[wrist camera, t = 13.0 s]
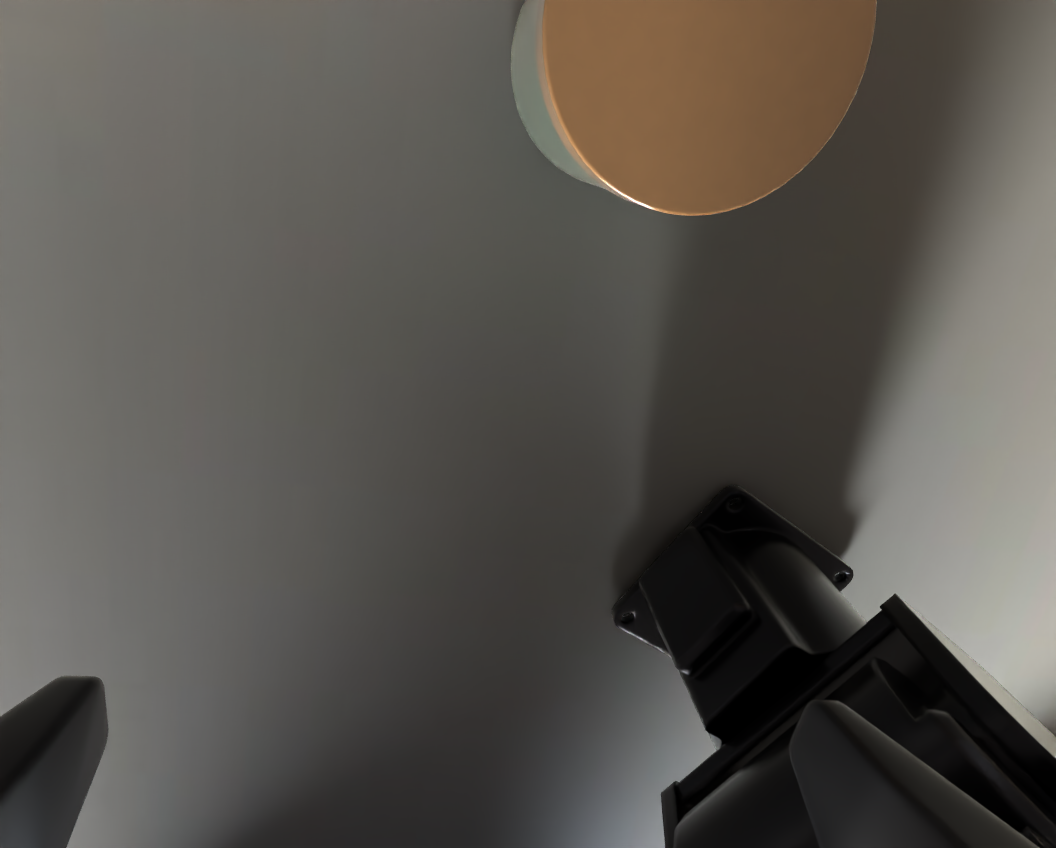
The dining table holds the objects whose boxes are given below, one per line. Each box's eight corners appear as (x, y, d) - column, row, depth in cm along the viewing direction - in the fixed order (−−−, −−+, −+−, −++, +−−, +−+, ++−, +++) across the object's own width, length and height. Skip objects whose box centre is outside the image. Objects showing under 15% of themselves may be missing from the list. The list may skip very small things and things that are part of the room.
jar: (644, 233, 18) (733, 275, 13) (462, 105, 16) (475, 92, 11) (779, 29, 16) (946, -21, 11) (594, -137, 14) (687, -297, 9)
